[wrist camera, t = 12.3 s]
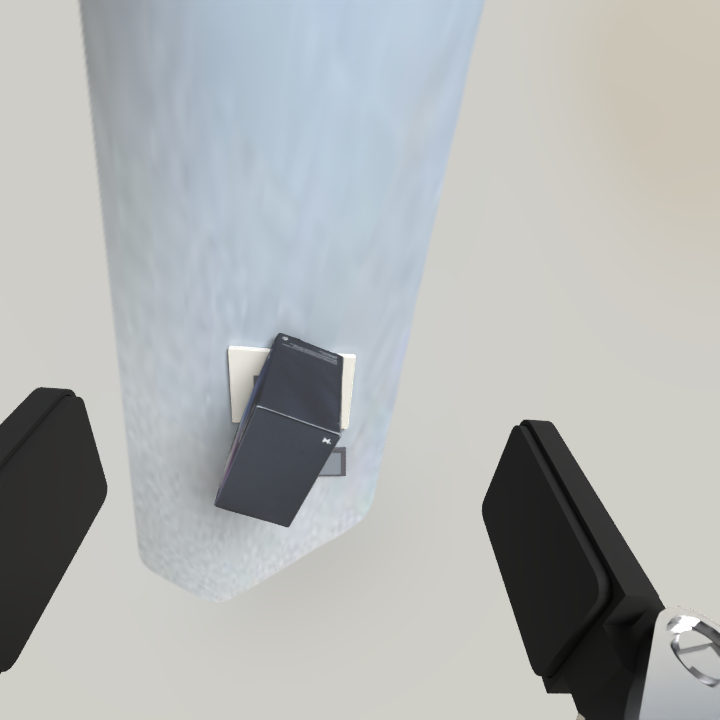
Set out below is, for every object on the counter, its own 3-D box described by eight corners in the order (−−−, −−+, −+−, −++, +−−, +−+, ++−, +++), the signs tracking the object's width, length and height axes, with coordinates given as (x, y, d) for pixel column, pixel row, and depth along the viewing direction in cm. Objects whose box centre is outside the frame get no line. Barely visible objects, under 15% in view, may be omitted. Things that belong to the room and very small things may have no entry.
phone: (276, 444, 45) (275, 452, 44) (345, 443, 45) (345, 451, 44) (279, 469, 47) (278, 477, 46) (345, 468, 47) (345, 476, 46)
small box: (274, 328, 37) (252, 402, 28) (346, 354, 38) (347, 434, 29) (237, 419, 41) (208, 509, 32) (302, 440, 43) (292, 531, 34)
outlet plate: (229, 345, 38) (227, 349, 38) (355, 354, 39) (355, 358, 38) (233, 418, 42) (232, 422, 42) (347, 424, 43) (347, 429, 43)
